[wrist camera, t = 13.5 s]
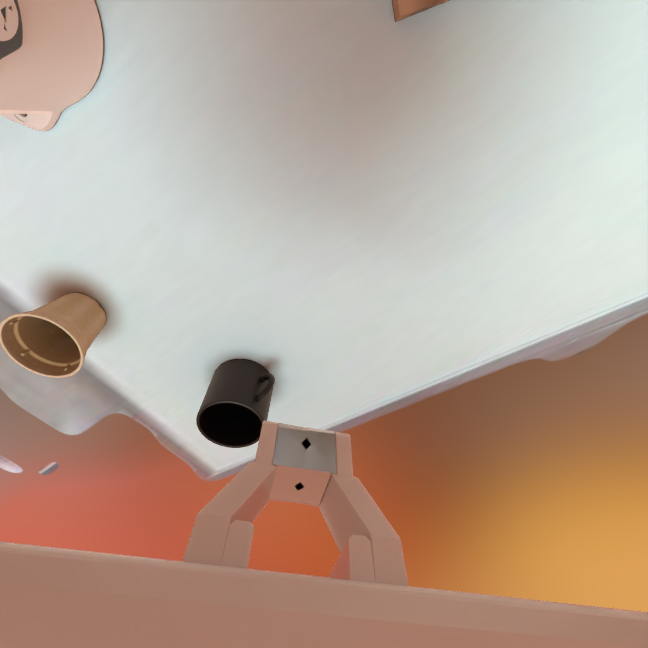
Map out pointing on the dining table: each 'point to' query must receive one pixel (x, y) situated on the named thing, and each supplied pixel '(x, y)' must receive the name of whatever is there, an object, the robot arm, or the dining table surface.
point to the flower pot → (53, 335)
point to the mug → (236, 404)
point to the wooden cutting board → (412, 7)
